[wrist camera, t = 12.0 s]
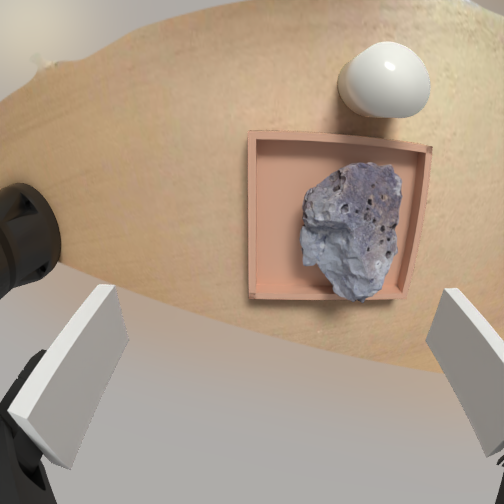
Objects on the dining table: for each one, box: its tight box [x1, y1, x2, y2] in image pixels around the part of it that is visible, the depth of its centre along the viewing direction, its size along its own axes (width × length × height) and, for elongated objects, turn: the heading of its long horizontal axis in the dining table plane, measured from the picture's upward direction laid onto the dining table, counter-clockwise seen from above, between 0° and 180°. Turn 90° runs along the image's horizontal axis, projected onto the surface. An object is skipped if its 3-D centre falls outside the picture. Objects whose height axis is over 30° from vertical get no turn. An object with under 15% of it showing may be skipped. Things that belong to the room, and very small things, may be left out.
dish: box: [248, 130, 433, 300], centre depth 33 cm, size 20×19×3 cm
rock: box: [299, 162, 403, 303], centre depth 30 cm, size 14×10×10 cm
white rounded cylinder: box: [338, 42, 430, 118], centre depth 24 cm, size 7×7×8 cm
